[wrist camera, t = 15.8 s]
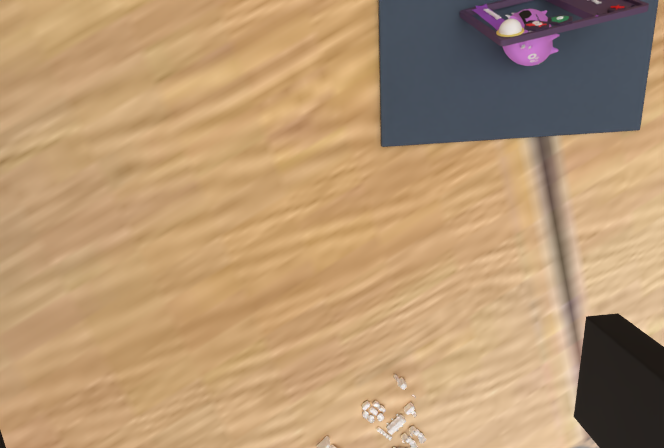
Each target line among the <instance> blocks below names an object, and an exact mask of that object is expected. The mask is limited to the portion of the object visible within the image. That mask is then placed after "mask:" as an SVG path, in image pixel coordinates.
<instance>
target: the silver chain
mask: <svg viewBox="0 0 664 448" xmlns="http://www.w3.org/2000/svg"><path fill="white" fill-rule="evenodd" d="M393 377H394V379H395V380H396V381H397V383H398V386H399V387H401V388H402V389H403V390H404V389H405V388H406V387H407V384H406V382H405V379H403V378H402V377H401V378H400V379H399V378H398V376H397V375H396V374H394V375H393ZM405 390H406V389H405ZM412 396H413V397H414V398H415V399H416V396H414V395H412ZM369 406H371V405H370V402H369V401H366V402H364V403H363V404H362V409H363V410H364V411H363V412H362V416H363V417H364V418H365V419H367V418H368V421H369V422H370V423H373V422H374V416H372V415H368V414H369V413H368V412H367V411H365V410H366V409H367V408H368V407H369ZM373 406H375V407H377V408H378V409H379V410H380V411H383V413H384V412H385V411H386V410H385V408H384V406H382V405H379V403H378V402H377V401H374V402H373ZM414 409H415V407H414V405H413V404H412V403H411V402H410V403H409V404H407V405H406V406H405V407H404V411H405V413H406V414H408V415H409V414H410V413H412V414H413V416H414V417H416V416H417V415H416V412H415V411H414ZM369 411H370V412H371V413H373V414H374V415H377V414H378V411H377V410H376V409H375V408H373V407H371V408H370V409H369ZM396 416H397V418H396V419H394V420H393V418H392V419H391V420H392V422H391V423H390V424H389V423H386V424H387V427H386V428H387V431H388V433H390V434H391V435H392V434H393V433H394V432H395V431H396V432H398V431H399V430H398V428H400V427H402V426H403V424H404V423H405V422H406V420H405V418H404V416H403V415H401V414H400V415H399V416H398V414H396ZM377 418H378V420H379V421H382V420H383V419H384V415H383V414H382V413H379V414H378V415H377ZM388 424H389V425H388ZM376 429H377V431H378V432H380V433H381V434H382V435H384V436H385V437H386V438H388V439H389V440H391V439H392V436H390V435H389V434H388V433H386V432H385V431H383V430H382V429H381V428H380V427H377V428H376ZM409 431H410V434H411V436H412V432H413V434H414V435H416V436H418V439H419V442H420V443H424V442H425V441H426V438H425V436H424V434H423V433H420V431H419V430H418V429H417V428H415V427H414V426H411V427H410V428H409ZM412 437H413V436H412ZM401 439H402V443H404V440H405V441H406V442H407V443H409V444H410V447H411V448H418V446H417V444H416V442H415V440H412V438H411V437H410V436H407V434H406V433H404V434H402V435H401ZM329 447H330V448H336V447H335V446H334V445H333V444H332V445H331V446H330V440H329V437H328V436H326V437H325V438H324V439H323V440H322V441H321V442H320V443H319V444H318V445H316V448H329ZM393 448H396V447H393ZM398 448H399V447H398ZM401 448H402V447H401ZM406 448H407V447H406Z"/></svg>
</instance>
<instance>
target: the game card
mask: <svg viewBox="0 0 664 448" xmlns="http://www.w3.org/2000/svg"><path fill="white" fill-rule="evenodd" d="M529 1H533V0H501V1H497V2H493V3H489V4H484V5H480V6H476V7H472V8H468V9H464V10H461V11H460V18H462V19H463V20H464V21H466V22H467V23H469V24H470V25H471V26H473V27H474V28H476V29H477V30H478V31H480V32H481V33H483V34H484V35H485V36H487V37H488V38H490V39H491V40H492V41H494V42H495V43H496V44H498V45H499V46H503V49H504V52H505V53H506V55H507V56H508V57H509V58H510V59H511V60H512V61H514V62H515V63H517V64H520V65H524V66H533V65H537V64H538V65H539V64H540V63H542V62H543V61H544V60H546V59H547V57H548V56H549V55H550V54H552V53H555V52H558V51H559V50H558V49H557V48H554V47H553V42H552V40H553V39H555V38H557V37H559V36H560V35H559V34H557V33H561V32H565V31H570V30H574V29H578V28H582V27H586V26H590V25H594V24H598V23H603V22H607V21H611V20H615V19H619V18H623V17H627V16H632V15H636V14H640V13H644V12H647V11H648V7H649V4H648V3H646V2H643V1H640V0H545V1H547V2H549V3H551V4H554V5H556V6H558V7H560V8H562V9H564V10H566V11H568V12H570V13H573V14H575V15H577V16H579V17H581V18H583V19H581V20H577V21H573V22H572V20H573V17H572V16H565V15H558V16H554V17H550V18H548V17H547V16H546V15H545V14H546V13H547V10H545V11H542V12H541V11H539V10H536V9H524V10H521V11H519V12H518V13H511V14H512V15H513V16H510V15H505V16H507V17H508V19H507V20H504V19H502V18H501V17H500V16H499V15H497V14H496V13H494V12H493V11H492V10H495V9H499V8H504V7H508V6H512V5H516V4H520V3H524V2H529ZM474 14H478V15H479V16H481V17H482V18H483V19H484V20H485V21H487V22H488V23H489V24H490V25H492V26H493V27H494V28H495V29H496V30H497V32H495V31H494V30H492V29H491V28H489V27H488V26H486V25H485V24H483V23H482V22H481V21H479V20H478V19H476V18H475V17H473V16H472V15H474ZM551 25H556V26H552V27H551Z"/></svg>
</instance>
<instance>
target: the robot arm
mask: <svg viewBox="0 0 664 448" xmlns="http://www.w3.org/2000/svg"><path fill="white" fill-rule="evenodd" d="M574 417H575V419H576V420H577V421H578V422H579V423H580V425H581V426H582V427H583V428H584V429H585V431H586V432H587V433H588V434H589V435H590V437H591V438H592V439H593V440H594V441H595V443H596V444H597V445H598V446H599V447H600V448H664V347H663V346H662V345H660V344H659V343H657V342H656V341H655V340H653V339H652V338H651V337H649V336H648V335H647V334H645V333H644V332H642V331H641V330H640V329H638V328H637V327H636V326H634V325H633V324H632V323H630V322H629V321H628V320H626V319H625V318H623V317H622V316H621V315H619V314H608V315H598V316H588V317H586V323H585V331H584V339H583V347H582V355H581V363H580V371H579V379H578V387H577V395H576V403H575V411H574ZM0 448H6V447H5V443H4V440H3V437H2V434H1V431H0Z"/></svg>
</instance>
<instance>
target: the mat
mask: <svg viewBox="0 0 664 448" xmlns="http://www.w3.org/2000/svg"><path fill="white" fill-rule="evenodd" d="M497 1H501V0H379V49H380V105H381V146H382V147H387V146H403V145H418V144H433V143H449V142H464V141H480V140H495V139H510V138H526V137H541V136H556V135H572V134H587V133H603V132H618V131H633V130H640V125H641V118H642V111H643V104H644V97H645V90H646V83H647V76H648V69H649V62H650V55H651V48H652V41H653V34H654V27H655V20H656V13H657V6H658V0H640V1H643V2H646V3H648V4H649V7H648V11H647V12H644V13H640V14H636V15H632V16H627V17H623V18H619V19H615V20H611V21H607V22H603V23H598V24H594V25H590V26H586V27H582V28H578V29H574V30H570V31H565V32H561V33H557V34H559V35H560V36H559V37H557V38H555V39H553V40H552V42H553V47H554V48H557V49H558V50H559V51H558V52H555V53H552V54H550V55H549V56H548V57H547V59H546V60H544V61H543V62H542V63H540V64H539V65H538V64H537V65H533V66H524V65H520V64H517V63H515V62H514V61H512V60H511V59H510V58H509V57H508V56H507V55H506V53H505V52H504V49H503V46H499V45H498V44H496V43H495V42H494V41H492V40H491V39H490V38H488V37H487V36H485V35H484V34H483V33H481V32H480V31H478V30H477V29H476V28H474V27H473V26H471V25H470V24H469V23H467V22H466V21H464V20H463V19H462V18H460V11H461V10H464V9H468V8H472V7H476V6H480V5H484V4H489V3H493V2H497ZM524 9H536V10H539V11H541V12H542V11H545V10H547V13H546V14H545V15H546V16H547V17H548V18H550V17H554V16H558V15H565V16H572V17H573V20H572V22H573V21H577V20H581V19H583V18H581V17H579V16H577V15H575V14H573V13H570V12H568V11H566V10H564V9H562V8H560V7H558V6H556V5H554V4H551V3H549V2H547V1H545V0H533V1H529V2H524V3H520V4H516V5H512V6H508V7H504V8H499V9H495V10H492V11H493V12H494V13H496V14H497V15H499V16H500V17H501V18H502V19H504V20H507V19H508V17H507V16H505V15H510V16H513V15H512V14H511V13H518V12H519V11H521V10H524ZM472 16H473V17H475V18H476V19H478V20H479V21H481V22H482V23H483V24H485V25H486V26H488V27H489V28H491V29H492V30H494V31H495V32H497V30H496V29H495V28H494V27H493V26H492V25H490V24H489V23H488V22H487V21H485V20H484V19H483V18H482V17H481V16H479V15H478V14H474V15H472ZM552 26H556V25H551V27H552Z"/></svg>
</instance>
